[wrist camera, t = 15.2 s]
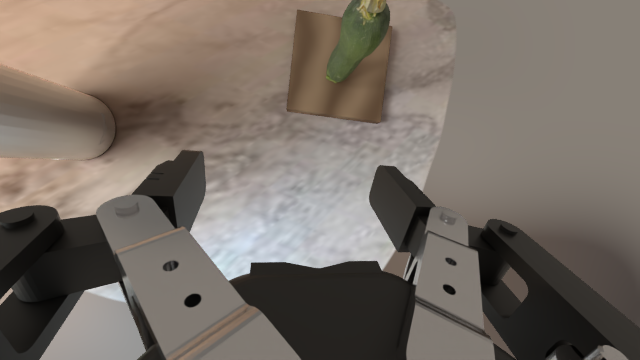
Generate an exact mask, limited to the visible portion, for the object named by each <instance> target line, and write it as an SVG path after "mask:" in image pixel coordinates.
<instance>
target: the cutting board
mask: <svg viewBox="0 0 640 360" xmlns="http://www.w3.org/2000/svg"><path fill="white" fill-rule="evenodd" d="M341 22H342V18H341V17H336V16H330V15H325V14H319V13H313V12H308V11H302V10H297V17H296V26H295V35H294V45H293V54H292V63H291V73H290V82H289V91H288V100H287V111H288V112H296V113H303V114H310V115H318V116H325V117H332V118H340V119H347V120H354V121H362V122H369V123H376V124H378V123H379V122H381V114H382V106H383V98H384V90H385V81H386V73H387V65H388V57H389V49H390V41H391V33H392V26H389V27H388V31H387V33H386V36H385V37H384V39H383V40H382V42H381V43H380V45H379V46H378V47H377V48H376V49H375V50H374V51H373V52H372V53H371V54H370V55H369V56H367V57H365V58H364V59H363V60H362V61H361V62H360V63H359V64H358V66H357V67H356V69H355V70H354V71H353V72H352V73H351V74H350V75H349V76H348V77H347V78H346V79H345V80H344V81H341V82H337V83H334V82H333V81H330V80H327V79H326V75H327V74H326V71H327V64H328V61H329V58H330V56H331V53H332V52H333V50H334V48H335V47H336V45H337V44H338V41H339V39H340V33H341Z"/></svg>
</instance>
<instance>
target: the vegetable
mask: <svg viewBox="0 0 640 360" xmlns="http://www.w3.org/2000/svg"><path fill="white" fill-rule="evenodd" d="M389 21H390V11H389V7H388V5H387V3H386V0H352V1H351V3H350V4H349V5H348V7H347V9H346V10H345V12H344V14H343V17H342V22H341V33H340V39H339V41H338V44H337V45H336V47H335V48H334V50H333V52H332V53H331V56H330V58H329V61H328V64H327V71H326V74H327V75H326V79H327V80H330V81H333V82H334V83H337V82H341V81H344V80H345V79H346V78H347V77H348V76H349V75H350V74H351V73H352V72H353V71H354V70H355V69H356V67H357V66H358V64H359V63H360V62H361V61H362V60H363V59H364V58H365V57H367V56H369V55H370V54H371V53H372V52H373V51H374V50H375V49H376V48H377V47H378V46H379V45H380V43H381V42H382V40H383V39H384V37H385V36H386V33H387V31H388V27H389Z"/></svg>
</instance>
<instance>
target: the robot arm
mask: <svg viewBox="0 0 640 360" xmlns="http://www.w3.org/2000/svg"><path fill="white" fill-rule="evenodd" d="M114 136H115V121H114V117H113V115H112V113H111V111H110V110H109V109H108V107H107V106H106V105H105V104H104V103H103V102H101V101H100V100H99V99H97V98H95V97H93V96H90V95H87V94H85V93H82V92H79V91H76V90H73V89H70V88H68V87H65V86H62V85H59V84H56V83H54V82H51V81H48V80H45V79H42V78H39V77H36V76H33V75H31V74H28V73H25V72H22V71H19V70H16V69H13V68H10V67H7V66H5V65H2V64H0V157H1V158H32V159H60V160H89V159H92V158H96V157H97V156H99V155H101V154H103V153H104V152H105V151H106V150H107V149H108V148H109V147H110V145H111V144H112V142H113V139H114ZM205 190H206V181H205V166H204V155H203V152H202V151H189V150H182V151H181V152H180V154H179V155H178V156H177V157H176V159H175V160H174V161H169V160H168V161H166V162H164V163H162V164H160V165H158V166H156V168H155V169H154V170H153V171H152V172H151V174H149V175H148V177H147V178H146V179H145V180H144V181H143V182H142V183H141V184H140V186H139V187H138V188H137V189H136V190H135V191H134V192H133V193H132V195H126V196H121V197H117V198H114V199H111V200H109V201H107V202H105V203H104V204H102V205H101V206H100V207H99V208H98V209H97V211H96V215H91V216H84V217H77V218H70V219H63V220H61V219H60V217H59V214H58V212H57V210H56V209H55V208H53V207H49V206H41V205H36V206H26V207H20V208H15V209H11V210H8V211H5V212H2V213H0V299H1V298H2V297H3V296H4V294H5V293H6V292H7V291H8V290H9V289H10V288H12V290H13V292H12V293H11V294H10V295H9V296H8V297H7V298H6V300H5V301H4V302H3V303H2V304H1V305H0V360H39V359H40V358H41V356H42V355H43V353H44V352H45V350H46V349H47V347H48V346H49V344H50V342H51V341H52V339H53V338H54V336H55V335H56V333H57V332H58V330H59V329H60V327H61V326H62V324H63V323H64V321H65V320H66V318H67V317H68V315H69V313H70V312H71V310H72V309H73V307H74V306H75V304H76V303H77V301H78V300H79V298H80V297H81V295H82V294H83V292H84V290H88V289H92V288H96V287H100V286H104V285H108V284H112V283H116V282H118V284H119V286H120V288H121V291H122V293H123V296H124V298H125V300H126V303H127V305H128V307H129V310H130V312H131V314H132V317H133V319H134V321H135V324H136V326H137V328H138V331H139V334H140V337H141V340H142V342H143V345H144V347H145V350H146V352H145V353H144V354H143V355H142V356H140V357H139V358H138V359H137V360H516V359H517V360H640V328H639V327H638V326H637V325H635V324H634V323H633V322H632V321H631V320H629V319H628V318H627V317H626V316H625V315H623V314H622V313H621V312H620V311H618V310H617V309H616V308H615V307H613V306H612V305H611V304H610V303H609V302H608V301H606V300H605V299H604V298H603V297H602V296H600V295H599V294H598V293H597V292H596V291H594V290H593V289H592V288H591V287H589V286H588V285H587V284H586V283H584V282H583V281H582V280H581V279H580V278H579V277H577V276H576V275H575V274H574V273H573V272H571V271H570V270H569V269H568V268H567V267H565V266H564V265H563V264H562V263H560V262H559V261H558V260H557V259H555V258H554V257H553V256H552V255H551V254H550V253H548V252H547V251H546V250H545V249H543V248H542V247H541V246H540V245H539V244H538V243H536V242H535V241H534V240H533V239H531V238H530V237H529V236H528V235H527V234H525V233H524V232H523V231H522V230H520V229H519V228H517V227H516V226H514V225H512V224H510V223H507V222H505V221H501V220H497V219H490V220H488V222H487V223H486V225H485V227H484V228H483V229H482V228H477V227H472V226H469V225H468V223H467V221H466V219H465V218H464V217H463V216H461V215H460V214H459V213H457V212H455V211H453V210H451V209H448V208H444V207H436V206H435V205H434V204H433V203H432V201H431V200H430V199H429V198H428V197H427V196H425V194H423V192H422V191H421V190H420V189H418V187H417V186H416V185H415V184H414V183H413V182H412V181H410V180H409V179H407V178H406V177H405V176H404V175H403V174H402V173H401V172H400V171H399V170H398V169H397V168H396V167H395V166H383V165H380V166H379V167H378V168H377V170H376V173H375V177H374V180H373V184H372V187H371V190H370V195H369V201H370V205H371V207H372V208H373V210H374V212H375V213H376V215H377V217H378V219H379V220H380V222H381V224H382V226H383V227H384V229H385V231H386V232H387V234H388V236H389V238H390V239H391V241H392V243H393V244H394V246H395V248H396V250H397V251H398V252H410V253H411V255H410V257H409V259H408V262H407V266H406V269H405V273H404V276H403V278H401V277H399V276H396V275H394V274H391V273H388V272H384V271H382V270H381V268H380V266H379V264H378V262H377V261H348V262H344V263H340V264H336V265H332V266H328V267H324V268H312V267H307V266H302V265H296V264H291V263H286V262H269V263H251V269H250V273H249V274H246V275H242V276H239V277H236V278H234V279H232V280H230V281H228V280H227V279H226V278H225V276H224V275H223V274H222V273H221V271H220V270H219V269H218V268H217V266H216V265H215V264H214V263H213V261H212V260H211V259H210V258H209V256H208V255H207V254H206V253H205V251H204V250H203V249H202V248H201V246H200V245H199V244H198V243H197V241H196V240H195V239H194V238H193V236H192V235H191V234H190V233H189V232H190V230H191V228H192V225H193V223H194V220H195V218H196V216H197V213H198V211H199V209H200V206H201V204H202V202H203V199H204V196H205ZM510 267H512V268H513V269H514V270H515V271H516V272H517V273H518V274H519V275H520V277H522V279H524V281H525V282H526V284H527V286H528V295H527V297H526V298H525V300H524V301H523V302H522V303H521V302H520V301H519V300H518V298H517V297H516V296H515V295H514V294H513V293H512V291H511V290H510V289H509V288H508V287H507V286H506V285H505V283H504V282H503V281H502V280H501V279H502V278H503V277H504V275H505V274H506V272H507V271H508V270H509V268H510ZM483 312H484V314H485V315H486V316H487V318H488V319H489V321H490V322H491V323H492V325H493V326H494V328H495V329H496V331H497V332H498V333H499V335H500V336H501V338H502V339H503V341H504V342H505V343H506V344H507V346H508V348H509V349H510V350H511V352H512V353H513V355H514V356H515V357H516V359H515V358H513V357H512V356H510V355H509V354H508V353H506V352H505V351H504V350H502V349H501V348H500V347H498V346H497V345H495V344H494V343H493V342H492V339H491V337H490V336H489V335H487V334H486V333H485V330H484V323H483Z"/></svg>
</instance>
